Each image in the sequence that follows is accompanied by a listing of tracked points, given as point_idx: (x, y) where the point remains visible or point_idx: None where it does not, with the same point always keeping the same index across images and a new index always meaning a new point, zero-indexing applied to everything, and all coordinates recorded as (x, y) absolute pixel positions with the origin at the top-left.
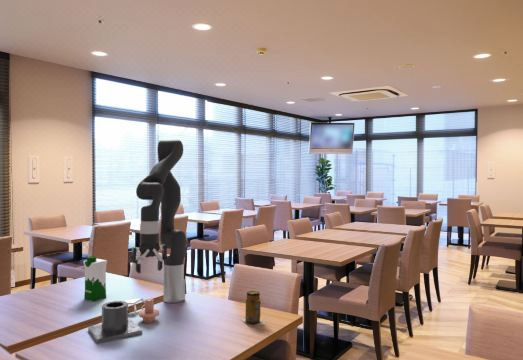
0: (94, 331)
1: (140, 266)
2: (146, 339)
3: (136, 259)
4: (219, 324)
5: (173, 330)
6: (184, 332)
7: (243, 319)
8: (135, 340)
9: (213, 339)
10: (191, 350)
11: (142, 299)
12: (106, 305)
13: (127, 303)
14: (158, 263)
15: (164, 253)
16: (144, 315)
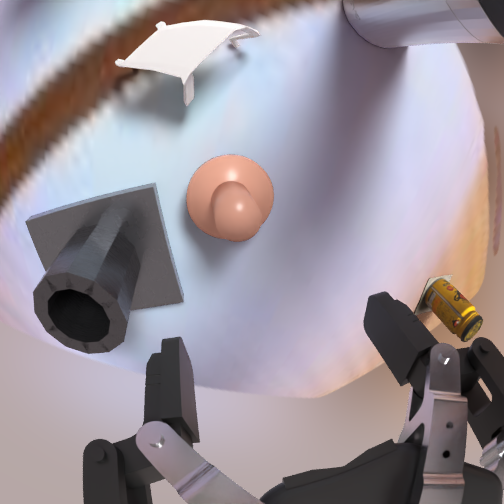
0: (48, 265)
1: (195, 420)
2: (191, 327)
3: (151, 463)
4: (385, 290)
5: (275, 295)
6: (294, 314)
7: (431, 280)
8: (163, 324)
9: (327, 354)
10: (268, 383)
11: (242, 27)
12: (48, 311)
13: (125, 320)
14: (399, 351)
15: (472, 424)
16: (204, 230)
